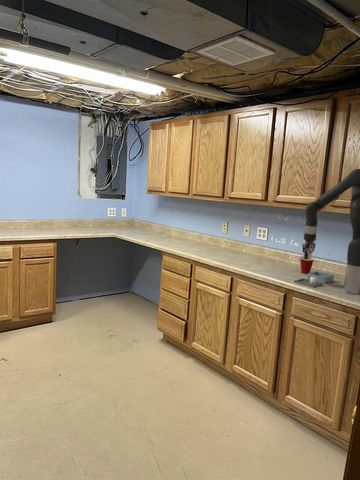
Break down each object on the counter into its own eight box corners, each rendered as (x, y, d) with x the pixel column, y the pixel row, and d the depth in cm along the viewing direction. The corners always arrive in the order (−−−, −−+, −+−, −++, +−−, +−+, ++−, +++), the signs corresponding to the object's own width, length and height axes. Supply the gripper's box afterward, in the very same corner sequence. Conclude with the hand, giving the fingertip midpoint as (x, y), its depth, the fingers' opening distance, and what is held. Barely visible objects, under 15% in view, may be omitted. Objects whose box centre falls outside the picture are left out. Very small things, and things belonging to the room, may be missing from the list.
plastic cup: (295, 273, 269) (297, 257, 267) (299, 270, 278) (301, 255, 276) (310, 275, 263) (312, 259, 261) (314, 273, 272) (316, 257, 270)
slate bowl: (333, 281, 250) (333, 275, 250) (324, 284, 242) (325, 277, 241) (315, 277, 259) (316, 271, 259) (307, 279, 251) (307, 273, 250)
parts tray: (322, 285, 238) (322, 283, 238) (313, 288, 230) (313, 285, 230) (302, 280, 248) (302, 278, 248) (293, 282, 240) (293, 280, 240)
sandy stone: (311, 260, 240) (312, 252, 239) (308, 261, 237) (309, 253, 236) (305, 259, 243) (306, 251, 242) (302, 259, 240) (303, 252, 239)
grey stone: (317, 285, 236) (318, 277, 236) (314, 286, 234) (315, 278, 233) (311, 283, 239) (312, 276, 239) (308, 284, 237) (309, 277, 236)
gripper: (310, 234, 230) (307, 260, 232) (321, 233, 239) (318, 258, 242) (299, 232, 235) (296, 258, 238) (310, 231, 245) (307, 256, 247)
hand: (307, 258), depth 240 cm, fingers closed on sandy stone, 4 cm apart
